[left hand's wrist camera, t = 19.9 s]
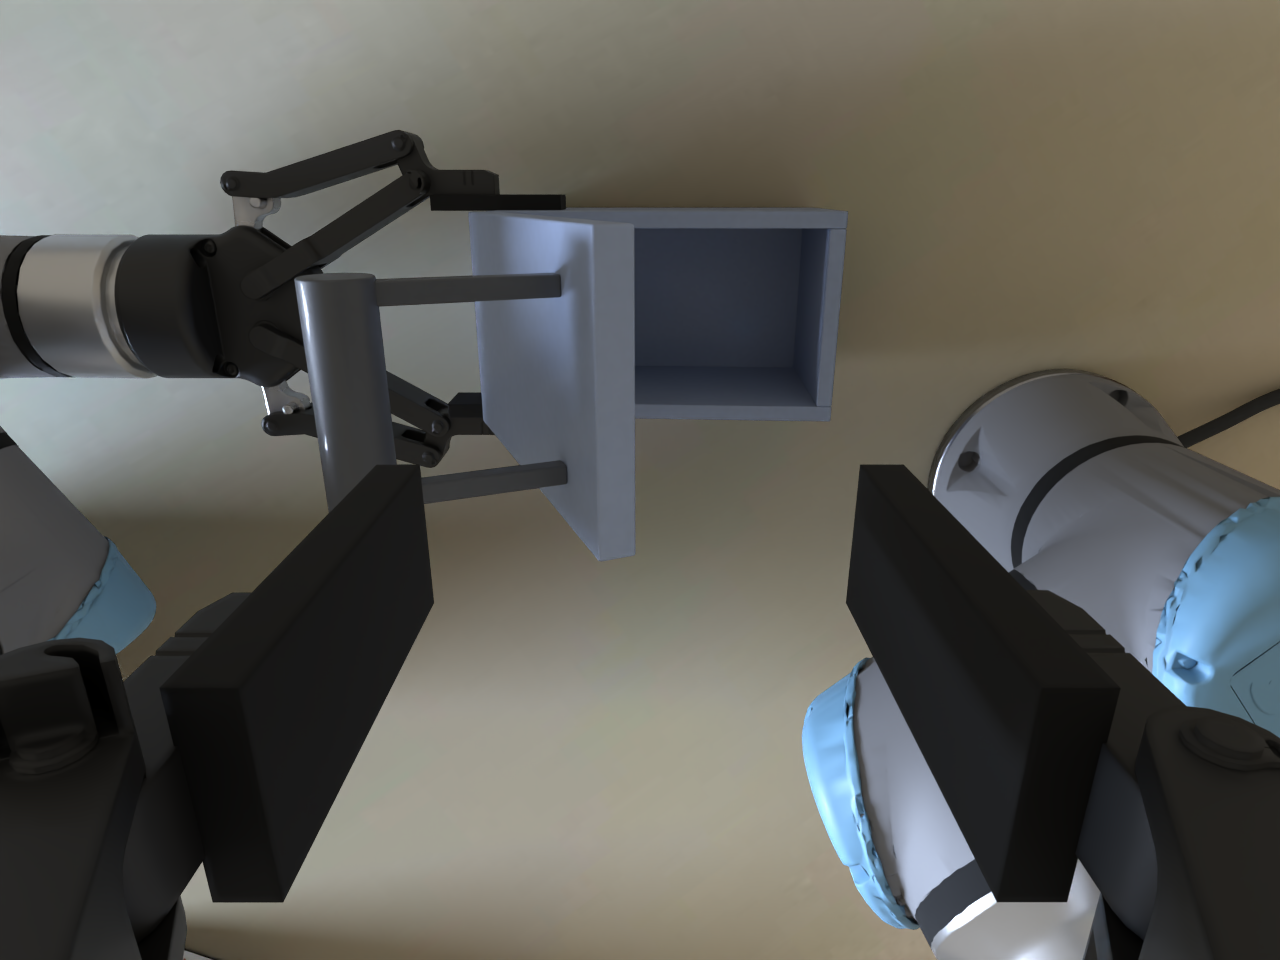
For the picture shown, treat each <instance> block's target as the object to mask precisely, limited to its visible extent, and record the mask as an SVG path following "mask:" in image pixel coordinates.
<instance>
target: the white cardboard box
mask: <svg viewBox="0 0 1280 960" xmlns="http://www.w3.org/2000/svg"><path fill="white" fill-rule="evenodd" d="M183 960H212V959H209V958H206V957H203V956H200V955H197V954H194V953H191V952H188V951H185V950H184V955H183Z"/></svg>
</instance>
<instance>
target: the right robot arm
mask: <svg viewBox="0 0 1280 960" xmlns="http://www.w3.org/2000/svg"><path fill="white" fill-rule="evenodd" d="M395 165H398V166H399V168H400V170H401V173H402V175H403V176H401V177H400V178H398V179H397V180H395V181H393V182H392V183H390V184H389V185H387V186H386V187H384V188H383V189H381V190H380V191H378V192H377V193H375V194H374V195H372V196H371V197H369V198H368V199H366V200H365V201H363V202H362V203H360V204H359V205H357V206H356V207H354V208H353V209H351V210H350V211H348V212H346V213H345V214H343V215H342V216H340V217H339V218H337V219H336V220H334V221H333V222H331V223H330V224H328V225H327V226H325V227H324V228H322V229H321V230H319V231H318V232H316V233H315V234H313V235H312V236H310V237H308V238H306V239H303V240H301V241H300V242H298V243H296V244H295V245H293V246H290V245H289V244H287V243H286V242H285V241H283V240H282V239H280V238H279V237H277V236H276V235H274V234H273V233H271V232H270V231H268V230H267V229H265V228H264V227H263V226H262V225H263V220H264V218H265V217H266V216H267V215H270V214H274V213H276V212H278V211H279V209H280V207H281V198H291V197H298V196H302V195H305V194H308V193H311V192H315V191H318V190H321V189H324V188H327V187H330V186H333V185H336V184H339V183H342V182H345V181H348V180H351V179H355V178H358V177H361V176H364V175H367V174H370V173H373V172H376V171H379V170H382V169H385V168H388V167H391V166H395ZM220 183H221V186H222V189H223V190H224V191H225V193H227V194H228V195H230V196H232V198H233V208H234V217H235V227H233V228H231V229H230V230H228V231H227V232H225V233H223V234H220V235H144V236H142V237H136V236H134V235H61V234H55V235H41V236H2V235H0V379H1V378H28V377H84V378H151V377H156V376H157V375H158V376H161V377H165V378H241V379H245V380H248V381H251V382H253V383H255V384H257V385H259V386H262V388H263V392H264V397H265V401H266V405H267V410H268V414H269V415H267V416H266V417H264V418H263V420H262V428H263V430H264V431H265V432H266V433H267V434H269V435H271V436H283V435H300V434H306V435H310V436H313V437H317V438H318V436H317V429H316V423H315V416H314V409H313V403H310V399H309V397H308V396H307V395H305V394H303V393H299V392H295V391H293V390H291V389H290V388H289V386H288V384H287V382H286V381H287V380H288V379H290V378H291V377H292V376H294V375H295V374H296V373H297V372H299V371H300V370H303V371H305V372H307V373H308V369H307V362H306V355H305V349H304V342H303V335H302V329H301V322H300V315H299V308H298V302H297V295H296V288H295V282H294V279H295V278H296V277H299V276H304V275H313V274H324V273H323V272H322V270H321V269H322V268H324V267H325V266H327V265H328V264H330V263H331V262H333V261H334V260H336V259H337V258H339V257H340V256H341V255H342V254H343V253H344V252H346V251H347V250H349V249H351V248H352V247H354V246H355V245H357V244H358V243H360V242H361V241H363V240H364V239H366V238H367V237H369V236H371V235H372V234H374V233H375V232H377V231H378V230H380V229H381V228H383V227H384V226H386V225H388V224H389V223H391V222H392V221H394V220H395V219H397V218H398V217H400V216H401V215H403V214H404V213H406V212H408V211H409V210H411V209H412V208H414V207H415V206H417V205H418V204H420V203H421V202H423V201H424V200H426V199H428V198H429V197H430V203H431V211H495V210H564V209H566V197H565V195H500V191H499V175H498V174H495V173H493V172H490V171H487V170H438V169H436V168H434V167H433V166H432V165H431V164H430V162H429V160H428V158H427V156H426V153H425V151H424V144H423V141H422V140H421V138H420V137H419V136H417V135H415V134H412V133H408V132H404V131H401V130H395V131H391V132H388V133H385V134H382V135H379V136H376V137H373V138H370V139H367V140H364V141H361V142H358V143H355V144H352V145H349V146H346V147H343V148H340V149H337V150H334V151H331V152H328V153H325V154H322V155H319V156H316V157H313V158H309V159H306V160H303V161H300V162H297V163H294V164H291V165H288V166H285V167H282V168H279V169H276V170H273V171H270V172H267V173H261V172H246V171H226V172H225V173H224V174H223V175H222V177H221V182H220ZM386 374H387V383H388V392H389V401H390V410H391V413H392V414H394V415H395V416H397V417H399V418H401V419H403V420H405V421H407V422H409V423H411V424H412V425H414V426H416V427H418V428H420V429H422V430H420V429H417V428H413V427H409V426H406V425H402V424H399V423H395V422H392V427H393V436H394V445H395V453H396V459H398V460H402V461H405V462H409V463H413V464H416V465H420V466H424V467H429V468H432V467H435V466H436V465H437V464H438V463H439V462H440V461H441V459H442V458H443V457H444V455H445V454H446V453H447V451H448V449H449V443H450V440H451V437H452V436H454V435H482V434H483V435H495V434H494V433H493V432H492V430H491V429H490V428H489V427H488V426H487V424H486V423H485V422H484V420H483V408H482V394H481V393H458V394H457V395H456V396H455V397H454V398H453V399H452V400H451V401H450V402H449V404H447V403H445V402H444V401H442V400H440V399H438V398H436V397H434V396H432V395H431V394H429V393H427V392H425V391H423V390H421V389H419V388H417V387H416V386H414V385H412V384H410V383H408V382H406V381H404V380H403V379H401V378H399V377H397V376H395V375H393V374H391V373H390V372H388V371H386ZM155 613H156V601H155V598H154V596H153V594H152V593H151V591H150V590H149V589H148V588H147V586H146V585H145V584H144V583H143V581H142V580H141V579H140V578H139V576H138V575H137V574H136V572H135V571H134V570H133V569H132V567H131V566H130V565H129V564H128V562H127V561H126V560H125V558H124V557H123V556H122V555H121V553H120V552H119V551H118V550H117V547H116V545H115V544H114V543H113V542H112V541H111V540H110V539H109V538H107V537H104V536H103V535H102V534H101V533H100V532H99V531H98V530H97V529H96V528H95V527H94V526H93V525H92V524H91V523H90V522H89V521H88V520H87V519H86V517H85V516H84V515H83V514H82V513H81V512H80V511H79V510H78V509H77V508H76V507H75V506H74V505H73V504H72V503H71V502H70V501H69V500H68V499H67V498H66V496H65V495H64V494H63V493H62V492H61V491H60V490H59V489H58V488H57V487H56V486H55V485H54V484H53V483H52V482H51V481H50V480H49V479H48V478H47V476H46V475H45V474H44V473H43V472H42V471H41V470H40V469H39V468H38V467H37V466H36V465H35V464H34V463H33V462H32V461H31V460H30V459H29V458H28V457H27V455H26V454H25V453H24V452H23V451H22V450H21V449H20V448H19V447H18V446H17V444H16V443H15V442H14V441H13V440H12V439H11V438H10V437H9V436H8V434H7V433H6V432H5V431H4V430H3V429H2V427H1V426H0V655H2V654H5V653H7V652H10V651H13V650H15V649H18V648H21V647H25V646H29V645H33V644H38V643H42V642H46V641H50V640H59V639H69V638H88V639H96V640H102V641H104V642H105V643H107V644H109V645H110V646H112V647H113V648H114V650H115V653H116V654H117V653H118V652H120V651H121V650H123V649H124V648H125V647H126V646H128V645H129V644H130V643H131V642H132V641H133V640H135V639H136V638H137V637H138V636H139V635H140V634H141V633H142V632H143V631H144V630H145V629H146V628H147V627H148V626H149V624H150V623H151V622H152V620H153V618H154V615H155Z"/></svg>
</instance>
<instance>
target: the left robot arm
mask: <svg viewBox="0 0 1280 960" xmlns="http://www.w3.org/2000/svg"><path fill="white" fill-rule="evenodd" d="M1278 404H1280V389H1278V390H1276V391H1273V392H1270V393H1268V394H1265V395H1263V396H1261V397H1258V398H1256V399H1254V400H1252V401H1250V402H1248V403H1246V404H1244V405H1242V406H1240V407H1238V408H1237V409H1235V410H1233V411H1231V412H1229V413H1227V414H1225V415H1223V416H1221V417H1219V418H1217V419H1215V420H1213V421H1210V422H1208V423H1206V424H1204V425H1202V426H1200V427H1198V428H1196V429H1193V430H1191V431H1189V432H1187V433H1185V434H1183V435H1180V436H1178V437H1176V435H1175V434H1174V432H1173V431H1172V430H1171V428H1170V427H1169V426H1168V424H1167V423H1166V421H1165V420H1164V419H1163V417H1162V416H1161V415H1160V413H1159V412H1158V411H1157V410H1156V409H1155V408H1154V407H1153V406H1152V405H1151V404H1150V403H1149V402H1148V401H1147V400H1145V399H1144V398H1143V397H1141V396H1140V395H1139V394H1137V393H1136V392H1135V391H1133V390H1132V389H1130V388H1128V387H1127V386H1125V385H1123V384H1121V383H1119V382H1116V381H1114V380H1112V379H1109V378H1107V377H1104V376H1101V375H1098V374H1095V373H1092V372H1087V371H1082V370H1073V369H1054V370H1045V371H1039V372H1034V373H1031V374H1027V375H1023V376H1021V377H1018V378H1015V379H1012V380H1010V381H1008V382H1006V383H1004V384H1002V385H1000V386H998V387H996V388H995V389H993V390H991V391H989V392H988V393H987V394H985V395H984V396H982V397H981V398H979V399H978V400H977V401H976V402H975V403H973V404H972V405H971V406H970V407H969V408H968V409H967V410H966V411H965V412H964V413H963V414H962V415H961V416H960V417H959V418H958V419H957V421H956V422H955V423H954V424H953V425H952V427H951V428H950V430H949V431H948V432H947V434H946V436H945V437H944V439H943V441H942V442H941V444H940V446H939V448H938V451H937V453H936V455H935V458H934V461H933V463H932V467H931V471H930V475H929V481H928V489H927V488H926V487H925V486H924V485H923V484H922V483H921V482H920V481H919V480H918V479H917V478H916V477H915V476H914V475H913V474H912V473H911V472H910V471H909V470H908V469H907V468H906V467H905V466H904V465H860V472H859V481H858V491H857V501H856V511H855V520H854V530H853V540H852V550H851V559H850V569H849V579H848V589H847V598H846V604H847V606H848V608H849V610H850V612H851V614H852V616H853V618H854V620H855V622H856V624H857V626H858V628H859V630H860V632H861V634H862V636H863V637H864V639H865V641H866V643H867V645H868V647H869V649H870V651H871V653H872V655H873V657H872V658H864V659H863V660H861V661H860V662H858V663H857V664H856V665H855V666H854V668H853V670H852V672H851V673H849V674H848V675H847V676H845V677H844V678H842V679H841V680H840V681H838V682H837V683H835V684H834V685H832V686H831V687H830V688H828V689H827V690H825V691H824V692H823V693H821V694H820V695H819V696H817V697H816V698H815V699H814V701H813V702H812V703H811V705H810V706H809V708H808V710H807V713H806V717H805V720H804V726H803V733H802V744H803V754H804V760H805V766H806V770H807V774H808V778H809V782H810V786H811V789H812V792H813V795H814V798H815V801H816V804H817V807H818V810H819V812H820V815H821V818H822V820H823V823H824V825H825V827H826V830H827V832H828V835H829V837H830V839H831V841H832V844H833V846H834V848H835V850H836V852H837V854H838V856H839V858H840V859H841V861H842V863H843V864H844V865H847V866H849V867H850V872H851V874H852V877H853V880H854V883H855V885H856V887H857V889H858V890H859V892H860V893H861V895H862V896H863V898H864V900H865V901H866V902H867V904H868V905H869V906H870V907H871V909H872V910H873V911H874V912H875V913H876V914H877V915H878V916H879V917H880V918H881V919H882V920H883V921H884V922H886V923H887V924H890V925H892V926H894V927H896V928H900V929H903V928H908V929H913V930H914V929H918V928H919V927H920V928H921V930H922V932H923V934H924V936H925V938H926V940H927V942H928V943H929V945H930V947H931V950H932V951H933V953H934V955H935V957H936V959H938V960H1280V490H1278V489H1276V488H1274V487H1271V486H1269V485H1267V484H1265V483H1263V482H1260V481H1258V480H1256V479H1254V478H1252V477H1249V476H1247V475H1245V474H1243V473H1241V472H1238V471H1236V470H1234V469H1232V468H1230V467H1227V466H1225V465H1223V464H1221V463H1219V462H1216V461H1214V460H1212V459H1210V458H1207V457H1205V456H1203V455H1201V454H1199V453H1196V452H1194V451H1192V450H1189V449H1187V448H1188V447H1190V446H1192V445H1194V444H1196V443H1198V442H1200V441H1203V440H1205V439H1207V438H1209V437H1211V436H1213V435H1215V434H1218V433H1220V432H1222V431H1224V430H1226V429H1228V428H1230V427H1232V426H1234V425H1236V424H1238V423H1240V422H1242V421H1243V420H1245V419H1247V418H1249V417H1251V416H1253V415H1255V414H1257V413H1259V412H1261V411H1263V410H1266V409H1268V408H1270V407H1273V406H1275V405H1278ZM433 604H434V598H433V589H432V579H431V569H430V559H429V550H428V540H427V530H426V520H425V511H424V501H423V491H422V481H421V472H420V465H376V466H375V467H374V468H373V469H372V470H371V471H370V472H369V473H368V474H367V475H366V476H365V477H364V478H363V479H362V480H361V481H360V482H359V483H358V484H357V485H356V486H355V487H354V488H353V489H352V490H351V491H350V492H349V493H348V494H347V495H346V496H345V497H344V498H343V500H342V501H341V502H340V503H339V504H338V505H337V506H336V507H335V508H334V509H333V510H332V511H331V512H330V513H329V514H328V515H327V516H326V517H325V518H324V519H323V520H322V521H321V522H320V523H319V524H318V525H317V526H316V527H315V528H314V529H313V530H312V531H311V532H310V533H309V534H308V536H307V537H306V538H305V539H304V540H303V541H302V542H301V543H300V544H299V545H298V546H297V547H296V548H295V549H294V550H293V551H292V552H291V553H290V554H289V555H288V556H287V557H286V558H285V559H284V560H283V561H282V562H281V563H280V564H279V565H278V566H277V567H276V568H275V569H274V570H273V571H272V573H271V574H270V575H269V576H268V577H267V578H266V579H265V580H264V581H263V582H262V583H261V584H260V585H259V586H258V587H257V588H256V589H255V590H254V591H253V592H252V593H231V594H229V595H227V596H225V597H224V598H222V599H220V600H218V601H216V602H214V603H212V604H211V605H209V606H207V607H205V608H203V609H201V610H199V611H198V612H197V613H196V614H195V615H194V616H192V617H191V618H190V619H189V620H188V621H187V622H186V623H185V624H184V625H183V626H182V627H181V628H180V629H179V630H178V631H177V632H176V633H175V637H170V638H169V639H168V640H167V641H166V642H165V643H164V644H163V645H162V646H161V647H160V648H159V649H158V650H156V655H155V656H150V657H149V658H148V659H147V660H146V661H145V662H144V663H143V664H142V665H141V666H140V667H138V668H137V669H136V670H135V671H134V672H133V673H132V674H131V675H130V676H129V677H128V678H127V679H126V680H125V681H124V682H123V680H122V676H121V672H120V668H119V665H118V661H117V657H116V653H115V650H114V648H113V647H112V646H110V645H109V644H107V643H105V642H104V641H102V640H96V639H88V638H69V639H59V640H50V641H46V642H42V643H38V644H33V645H29V646H25V647H21V648H18V649H15V650H13V651H10V652H7V653H5V654H2V655H0V960H183V955H184V948H185V941H186V934H187V924H186V917H185V911H184V907H183V904H182V900H181V896H180V895H181V893H182V892H183V890H184V889H185V887H186V886H187V884H188V883H189V881H190V880H191V878H192V877H193V875H194V874H195V872H196V871H197V869H198V867H199V866H200V864H201V863H202V861H203V865H204V869H205V873H206V877H207V881H208V885H209V889H210V893H211V897H212V901H213V902H284V900H285V898H286V896H287V894H288V892H289V890H290V888H291V886H292V884H293V882H294V880H295V878H296V876H297V874H298V872H299V870H300V868H301V866H302V864H303V862H304V860H305V858H306V856H307V854H308V852H309V850H310V848H311V846H312V844H313V842H314V840H315V838H316V836H317V834H318V832H319V830H320V828H321V826H322V824H323V822H324V820H325V818H326V816H327V814H328V812H329V810H330V808H331V806H332V804H333V802H334V800H335V798H336V796H337V794H338V792H339V790H340V788H341V786H342V784H343V782H344V780H345V778H346V776H347V774H348V773H349V771H350V769H351V767H352V765H353V763H354V761H355V759H356V757H357V755H358V753H359V751H360V749H361V747H362V745H363V743H364V741H365V739H366V737H367V735H368V733H369V731H370V729H371V727H372V725H373V723H374V721H375V719H376V717H377V715H378V713H379V711H380V709H381V707H382V705H383V703H384V701H385V699H386V697H387V695H388V693H389V691H390V689H391V687H392V685H393V683H394V681H395V679H396V677H397V675H398V673H399V671H400V669H401V667H402V665H403V663H404V661H405V659H406V657H407V655H408V653H409V651H410V649H411V647H412V645H413V643H414V641H415V639H416V637H417V635H418V633H419V632H420V630H421V628H422V626H423V624H424V622H425V620H426V618H427V616H428V614H429V612H430V610H431V608H432V606H433Z"/></svg>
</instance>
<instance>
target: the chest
mask: <svg viewBox="0 0 1280 960" xmlns="http://www.w3.org/2000/svg"><path fill="white" fill-rule="evenodd" d="M486 212H487V211H486ZM494 212H506V213H517V214H529V215H540V216H552V217H563V218H575V219H587V220H598V221H610V222H621V223H631V224H633V225H634V307H635V418H644V419H709V420H774V421H830V419H831V405H832V394H833V382H834V371H835V359H836V347H837V336H838V324H839V312H840V301H841V289H842V277H843V266H844V254H845V242H846V231H847V230H846V228H847V220H848V211H840V210H831V209H822V208H566V209H564V210H495V211H494Z"/></svg>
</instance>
